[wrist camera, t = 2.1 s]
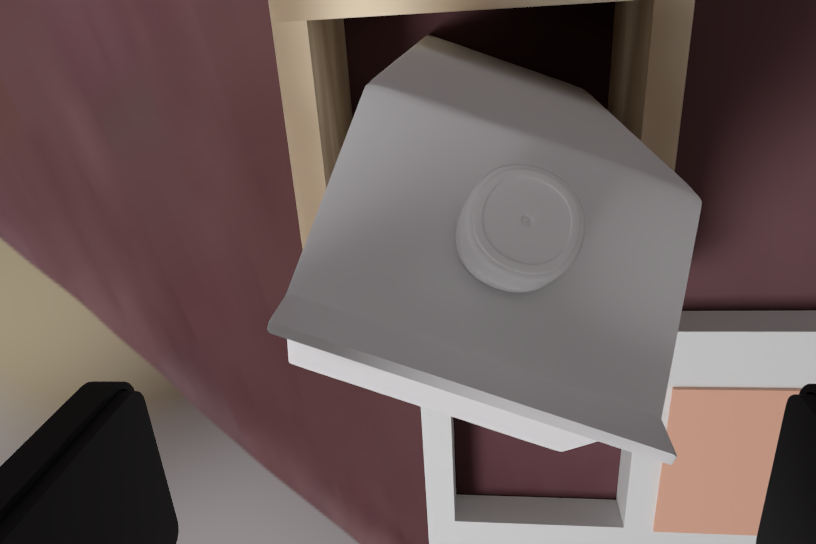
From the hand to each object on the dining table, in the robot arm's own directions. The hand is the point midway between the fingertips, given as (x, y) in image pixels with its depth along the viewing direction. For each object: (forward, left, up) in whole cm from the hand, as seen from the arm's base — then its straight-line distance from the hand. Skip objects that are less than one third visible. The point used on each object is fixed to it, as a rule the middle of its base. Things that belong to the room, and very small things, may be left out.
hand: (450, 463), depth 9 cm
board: (-8, +16, -20) cm, 27 cm away
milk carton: (0, 0, -20) cm, 20 cm away
